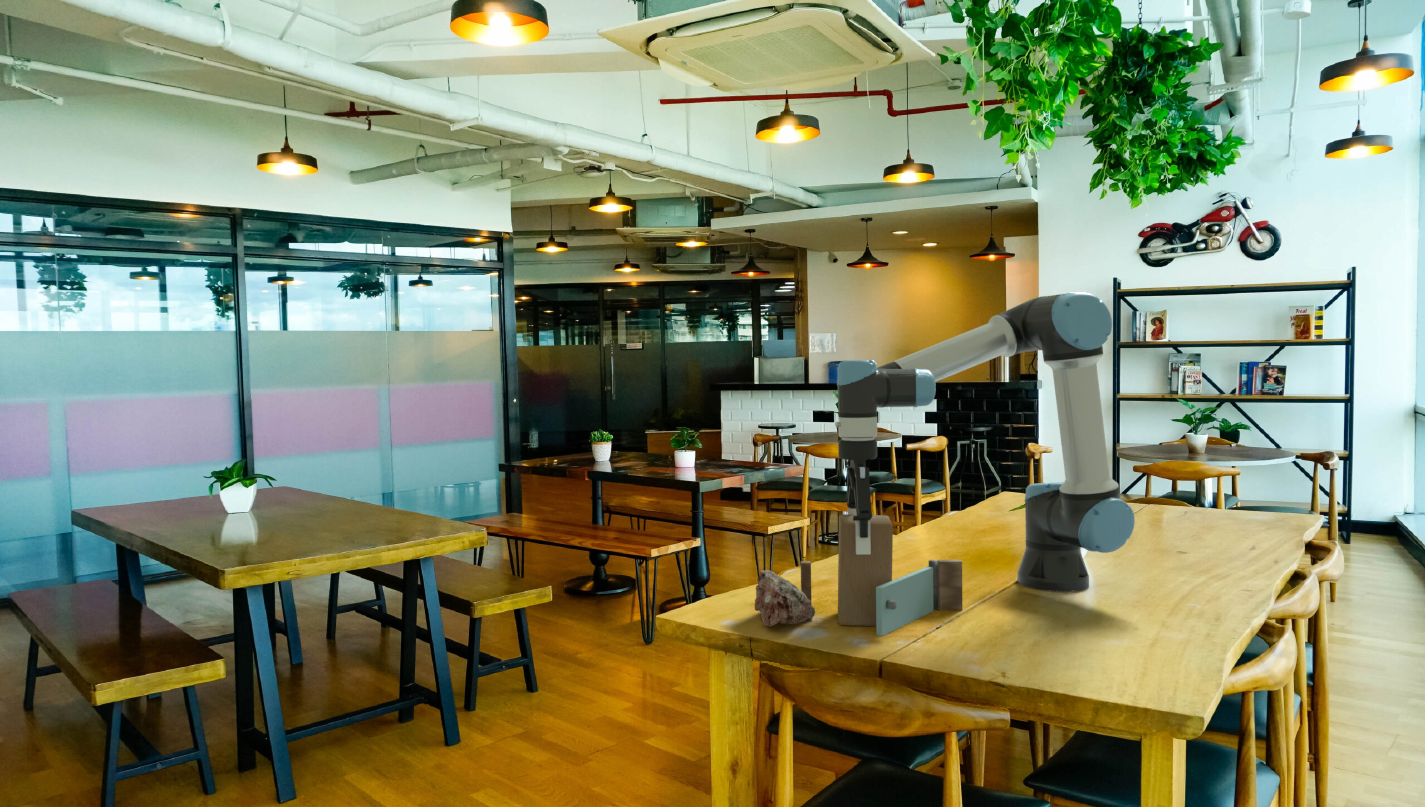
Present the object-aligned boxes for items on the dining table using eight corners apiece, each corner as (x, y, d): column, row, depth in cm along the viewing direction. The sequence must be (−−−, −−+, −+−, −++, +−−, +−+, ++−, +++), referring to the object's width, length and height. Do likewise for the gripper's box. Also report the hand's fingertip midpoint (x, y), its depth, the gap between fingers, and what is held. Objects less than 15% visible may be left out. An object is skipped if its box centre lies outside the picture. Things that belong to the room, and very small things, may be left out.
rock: (776, 561, 188) (828, 560, 177) (786, 613, 188) (838, 616, 176) (721, 579, 179) (772, 579, 167) (731, 633, 178) (782, 638, 167)
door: (928, 610, 183) (927, 566, 183) (939, 612, 182) (939, 568, 181) (876, 634, 167) (875, 587, 167) (888, 637, 165) (888, 589, 165)
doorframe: (960, 607, 184) (960, 559, 184) (962, 610, 183) (962, 561, 182) (801, 609, 186) (800, 561, 185) (801, 611, 184) (801, 563, 183)
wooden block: (891, 627, 172) (893, 524, 171) (838, 625, 173) (840, 522, 172) (887, 613, 181) (889, 515, 181) (837, 611, 183) (838, 513, 182)
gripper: (832, 433, 188) (833, 535, 189) (845, 444, 163) (846, 560, 164) (868, 433, 188) (869, 534, 189) (886, 443, 163) (887, 560, 164)
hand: (858, 547), depth 176 cm, fingers open, 12 cm apart
